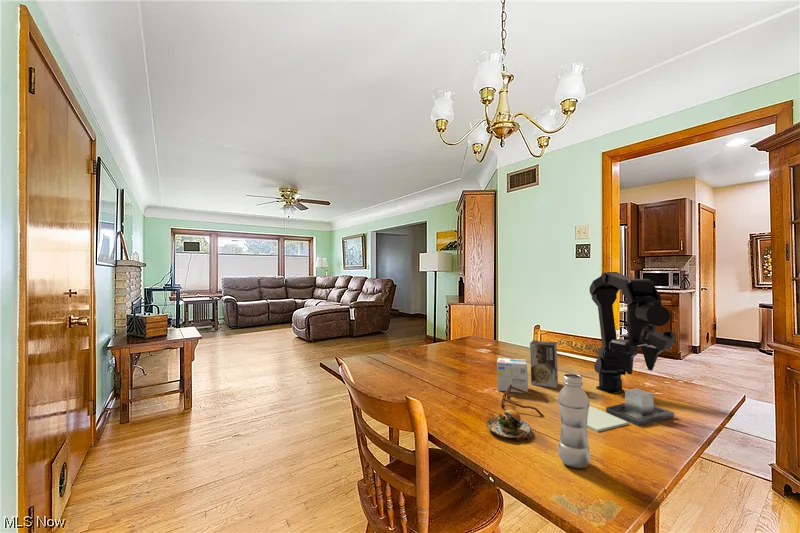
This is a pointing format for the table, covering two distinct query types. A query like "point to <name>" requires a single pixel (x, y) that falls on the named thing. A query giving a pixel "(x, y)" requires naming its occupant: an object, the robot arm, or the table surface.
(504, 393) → the glasses
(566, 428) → the plastic bottle
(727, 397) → the table surface
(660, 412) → the socket frame
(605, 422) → the felt pad
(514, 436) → the burger
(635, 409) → the block
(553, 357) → the coffee box
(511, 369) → the light bulb box
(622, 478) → the table surface
